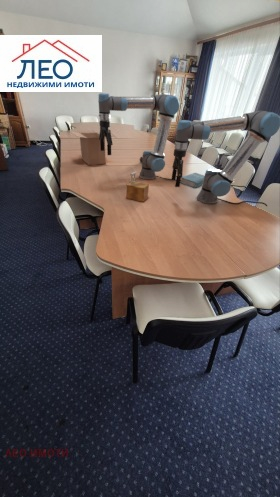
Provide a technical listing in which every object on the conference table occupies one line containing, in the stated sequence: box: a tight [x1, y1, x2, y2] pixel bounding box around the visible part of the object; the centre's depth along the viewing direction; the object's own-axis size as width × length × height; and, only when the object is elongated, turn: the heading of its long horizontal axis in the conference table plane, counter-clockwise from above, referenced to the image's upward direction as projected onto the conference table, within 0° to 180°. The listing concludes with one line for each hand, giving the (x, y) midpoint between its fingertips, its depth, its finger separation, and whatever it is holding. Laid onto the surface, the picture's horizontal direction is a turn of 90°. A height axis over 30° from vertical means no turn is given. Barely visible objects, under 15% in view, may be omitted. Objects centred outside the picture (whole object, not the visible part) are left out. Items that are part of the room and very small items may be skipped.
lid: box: [125, 171, 150, 189], centre depth 159 cm, size 14×10×9 cm
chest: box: [126, 184, 150, 203], centre depth 164 cm, size 14×10×9 cm
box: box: [70, 129, 114, 166], centre depth 229 cm, size 44×36×27 cm
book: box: [180, 172, 205, 189], centre depth 200 cm, size 23×16×5 cm
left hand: (105, 152), depth 166 cm, fingers open, 13 cm apart
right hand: (175, 183), depth 148 cm, fingers open, 13 cm apart
